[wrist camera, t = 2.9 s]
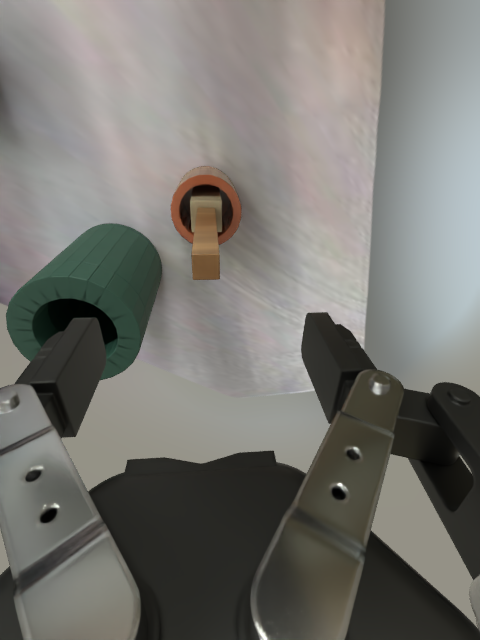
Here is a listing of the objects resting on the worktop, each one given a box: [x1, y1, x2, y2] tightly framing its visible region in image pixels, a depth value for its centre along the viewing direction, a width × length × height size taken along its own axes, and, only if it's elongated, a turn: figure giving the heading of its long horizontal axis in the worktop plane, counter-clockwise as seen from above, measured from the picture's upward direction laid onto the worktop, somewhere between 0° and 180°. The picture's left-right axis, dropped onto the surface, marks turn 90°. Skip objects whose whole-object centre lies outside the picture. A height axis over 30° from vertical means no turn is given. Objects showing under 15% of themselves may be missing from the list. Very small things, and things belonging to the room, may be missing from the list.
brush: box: [190, 186, 222, 280], centre depth 27 cm, size 3×3×20 cm
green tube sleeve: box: [6, 224, 162, 380], centre depth 33 cm, size 10×10×15 cm
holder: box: [171, 166, 241, 245], centre depth 33 cm, size 7×7×7 cm
